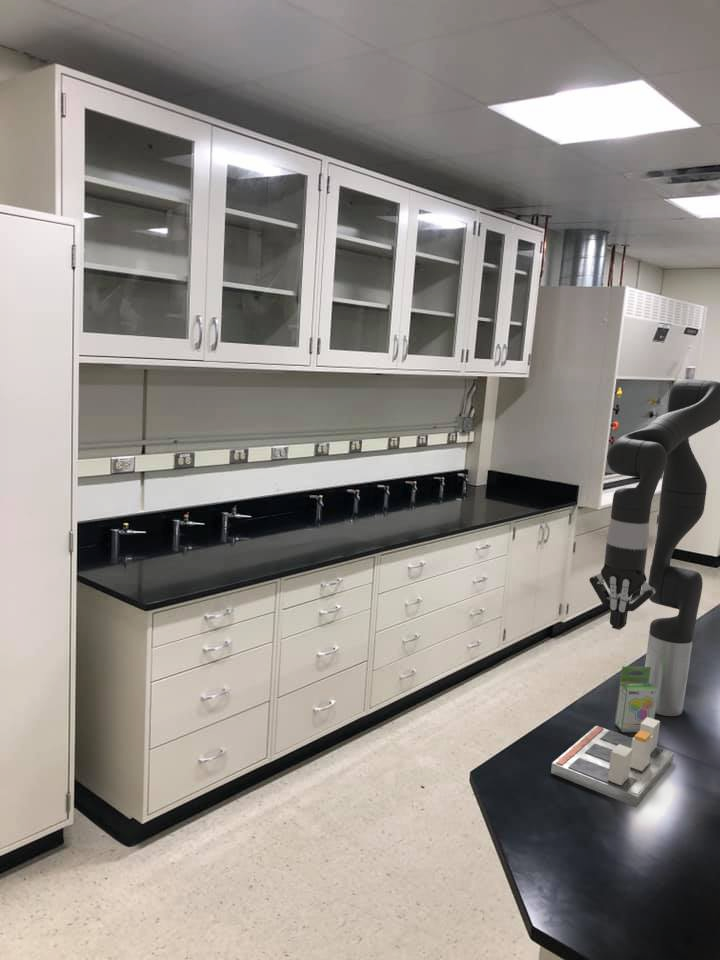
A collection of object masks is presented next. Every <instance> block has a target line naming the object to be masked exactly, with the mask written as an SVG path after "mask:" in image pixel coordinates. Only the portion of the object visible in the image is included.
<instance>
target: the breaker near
mask: <svg viewBox="0 0 720 960" xmlns="http://www.w3.org/2000/svg"><path fill="white" fill-rule="evenodd" d="M632 751H633V749H631V748H629V747H626V746H623V745H620V744H619V745H618V746H617V747H616V748H615V749H614V750H613V751H611V758H610V766H609V774H608V780H609V781H611V782H614V783H616V784H619V785H622V784H623V783H624V782H625V781H626V780H627V779H628V778H629V774H630V766H631V759H632Z"/></svg>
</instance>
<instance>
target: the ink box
mask: <svg viewBox="0 0 720 960" xmlns="http://www.w3.org/2000/svg"><path fill="white" fill-rule="evenodd" d="M650 670H651V667H645V666H625V665H624V666H622V667H621V674H620V681H619V689H618V694H617V695H618V696H617V704H616V711H615V718H614V725H615V726H616V727H617V728H618V729H619V731H621V732H622V733H638V732H639V731H640V725H641V723H642V722H643V721H644V720H645V719H646V718H647V717H649V718H652V719H655V717H656V713H655V709H656V701H657V693H658V690H657V689H656V688H655V687H654V686H653V685H652V684H650V683H649V676H650ZM636 671H637V672H641V673H642V675H639V674H638V675H637V674H635V675H634V674H633V675H632V674H630V675H629V673H631V672H636Z"/></svg>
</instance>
